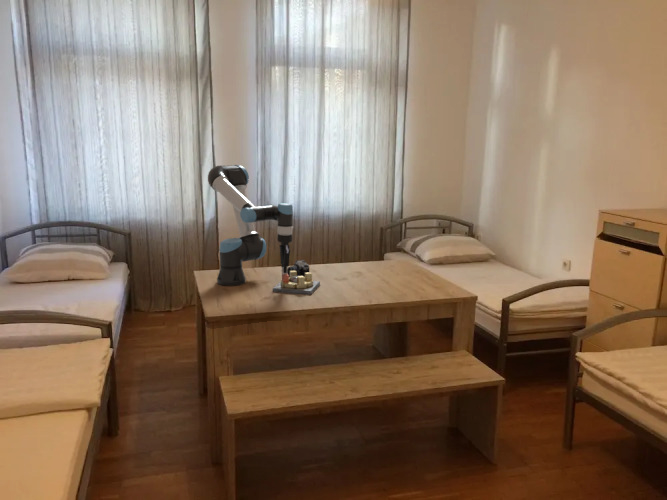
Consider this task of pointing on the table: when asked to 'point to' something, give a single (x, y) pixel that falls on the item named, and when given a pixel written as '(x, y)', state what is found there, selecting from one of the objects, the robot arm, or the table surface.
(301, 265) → the camera
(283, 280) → the octagonal wooden frame
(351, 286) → the table surface
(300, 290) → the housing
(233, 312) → the table surface
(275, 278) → the table surface
